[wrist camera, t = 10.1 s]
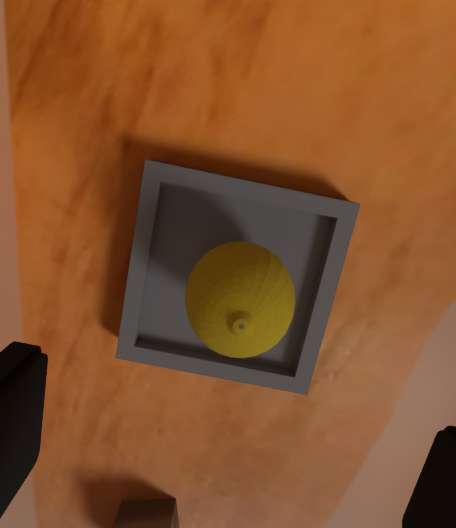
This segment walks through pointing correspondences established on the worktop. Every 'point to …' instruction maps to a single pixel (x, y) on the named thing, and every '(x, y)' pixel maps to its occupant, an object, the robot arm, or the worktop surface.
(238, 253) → the lemon
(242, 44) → the worktop surface
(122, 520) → the metal cube
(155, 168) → the dish
